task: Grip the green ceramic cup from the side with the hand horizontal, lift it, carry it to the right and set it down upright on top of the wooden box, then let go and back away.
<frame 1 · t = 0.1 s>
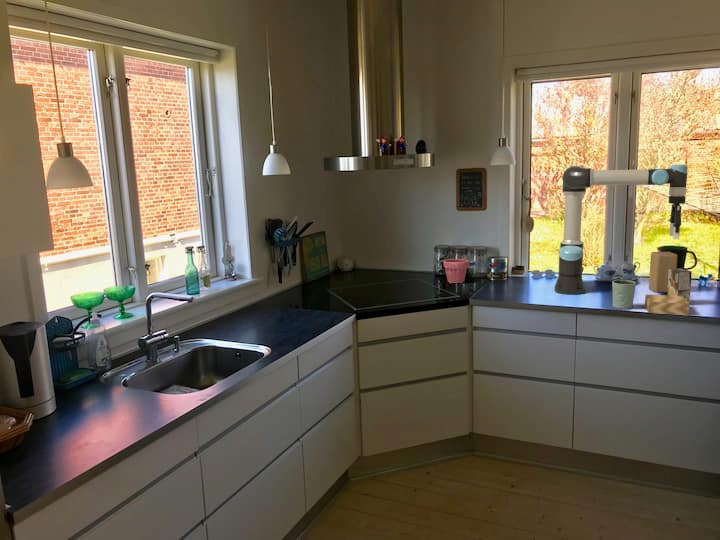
hand: (674, 237, 307), 28 cm above the worktop, tool pointing down, fingers open, 13 cm apart
wooden box: (665, 309, 274), on the worktop
wooden block: (661, 291, 313), on the worktop
plant pot: (455, 282, 346), on the worktop
green ceramic cup: (622, 307, 281), on the worktop
coffee box: (677, 303, 286), on the worktop
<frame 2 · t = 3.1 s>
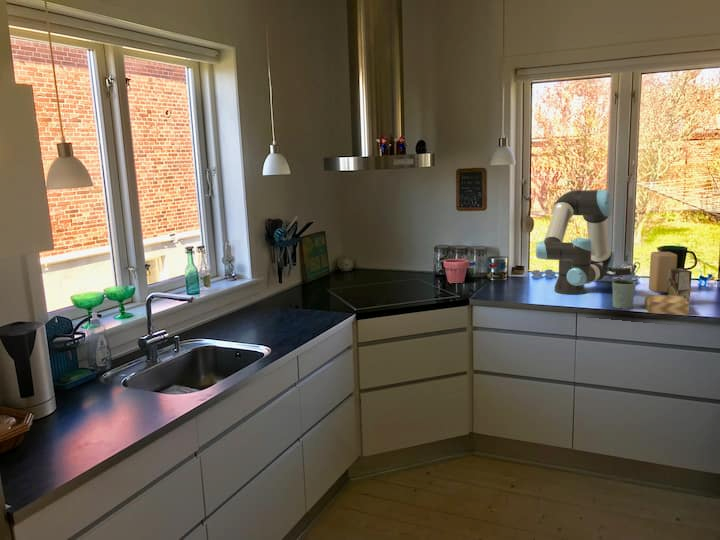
hand: (616, 267, 271), 20 cm above the worktop, tool horizontal, fingers open, 13 cm apart
nothing on the worktop moved.
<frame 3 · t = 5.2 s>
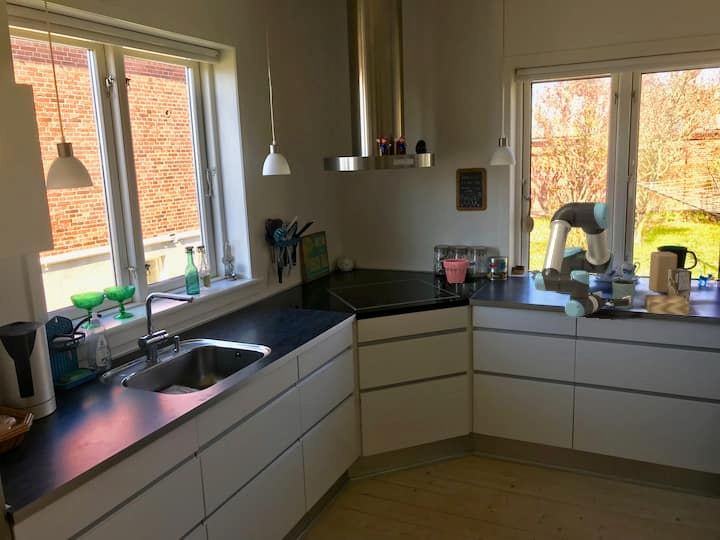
hand: (615, 296, 275), 6 cm above the worktop, tool horizontal, fingers open, 13 cm apart
nothing on the worktop moved.
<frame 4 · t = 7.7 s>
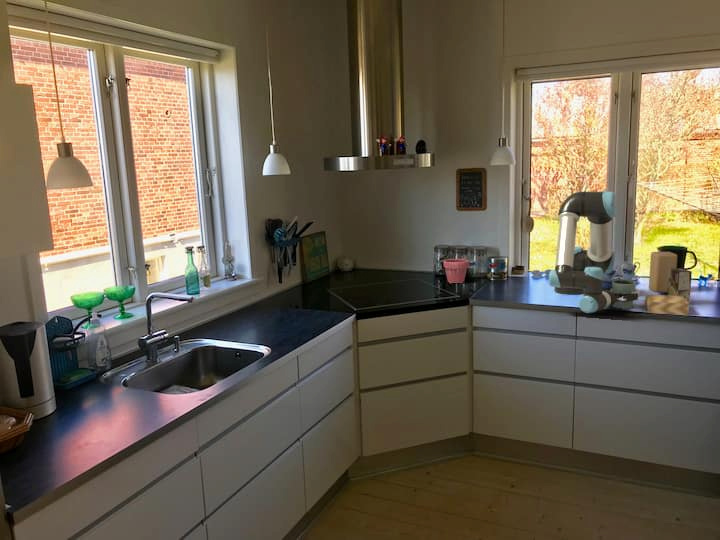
hand: (628, 291, 283), 7 cm above the worktop, tool horizontal, fingers closed on green ceramic cup, 9 cm apart
green ceramic cup: (622, 307, 281), on the worktop, touching gripper
everything else where it was.
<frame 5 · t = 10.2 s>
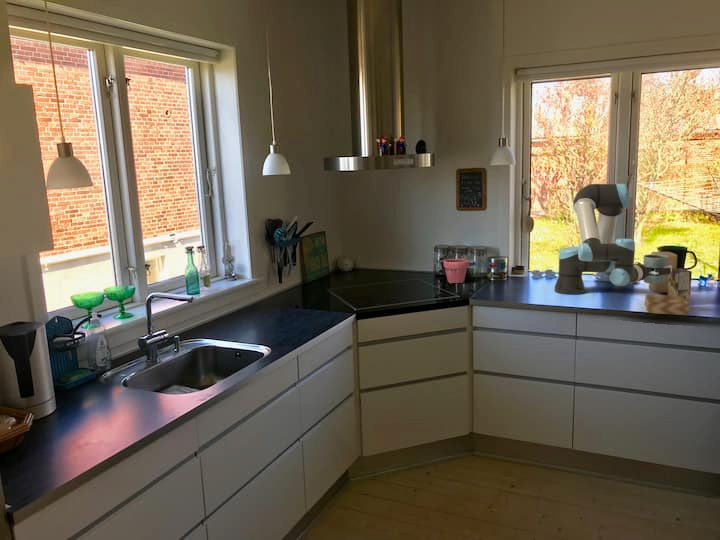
hand: (659, 266, 274), 19 cm above the worktop, tool horizontal, fingers closed on green ceramic cup, 9 cm apart
green ceramic cup: (654, 282, 272), point 13 cm above the worktop, touching gripper
everything else where it was.
when the fingers open (12 cm above the worktop, at t = 12.7 s): green ceramic cup stays where it is, resting on wooden box.
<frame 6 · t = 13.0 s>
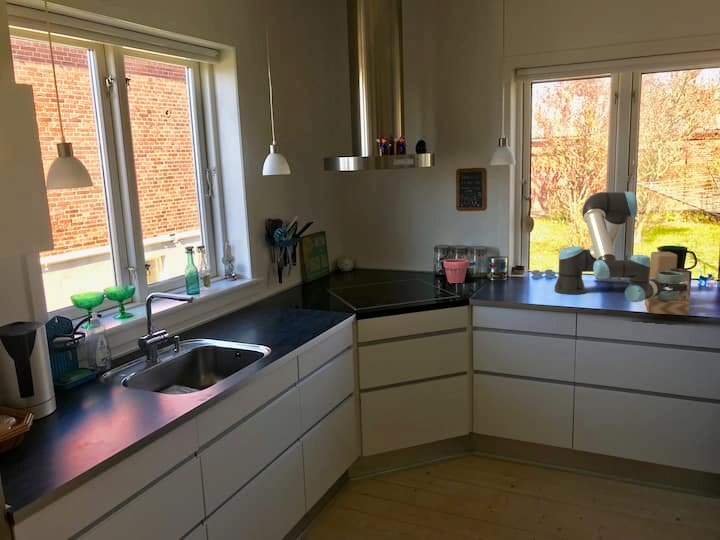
hand: (670, 281, 274), 12 cm above the worktop, tool horizontal, fingers open, 13 cm apart
green ceramic cup: (668, 299, 272), point 5 cm above the worktop, touching wooden box
everything else where it was.
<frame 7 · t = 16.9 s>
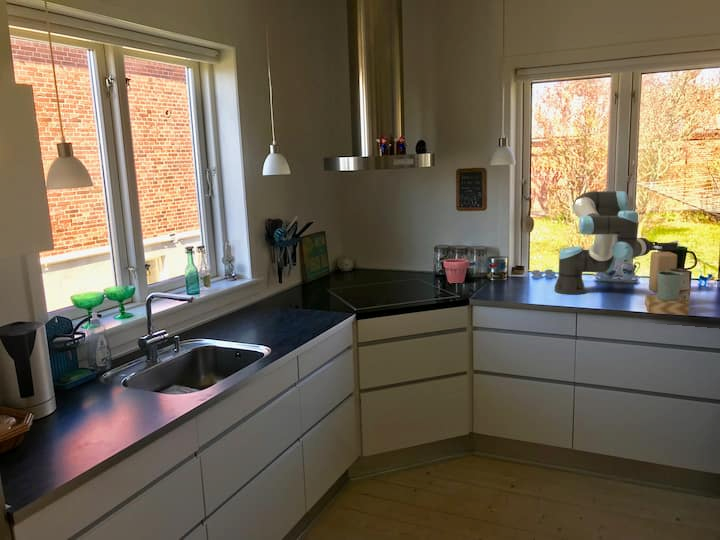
hand: (660, 242, 262), 32 cm above the worktop, tool horizontal, fingers open, 13 cm apart
nothing on the worktop moved.
at the end: green ceramic cup inside the target area on the wooden box (0.8 cm from its centre), point 5.0 cm above the wooden box's base; green ceramic cup tilted 0°; the gripper is holding nothing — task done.
